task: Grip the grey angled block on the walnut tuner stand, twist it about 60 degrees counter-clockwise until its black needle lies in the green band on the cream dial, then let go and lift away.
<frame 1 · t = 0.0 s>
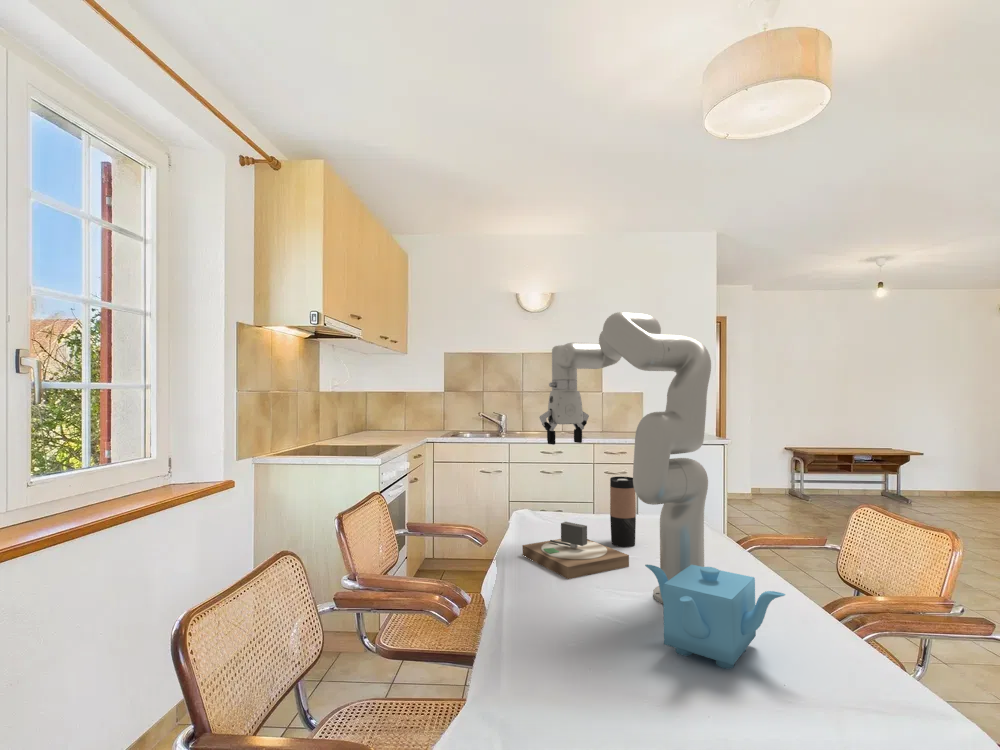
hand: (564, 443, 163), 31 cm above the table, tool pointing down, fingers open, 9 cm apart
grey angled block: (567, 534, 152), point 7 cm above the table, hinge at 0.0°
teakettle: (708, 653, 98), on the table
tuner stand: (574, 560, 150), on the table
travel mug: (623, 544, 166), on the table
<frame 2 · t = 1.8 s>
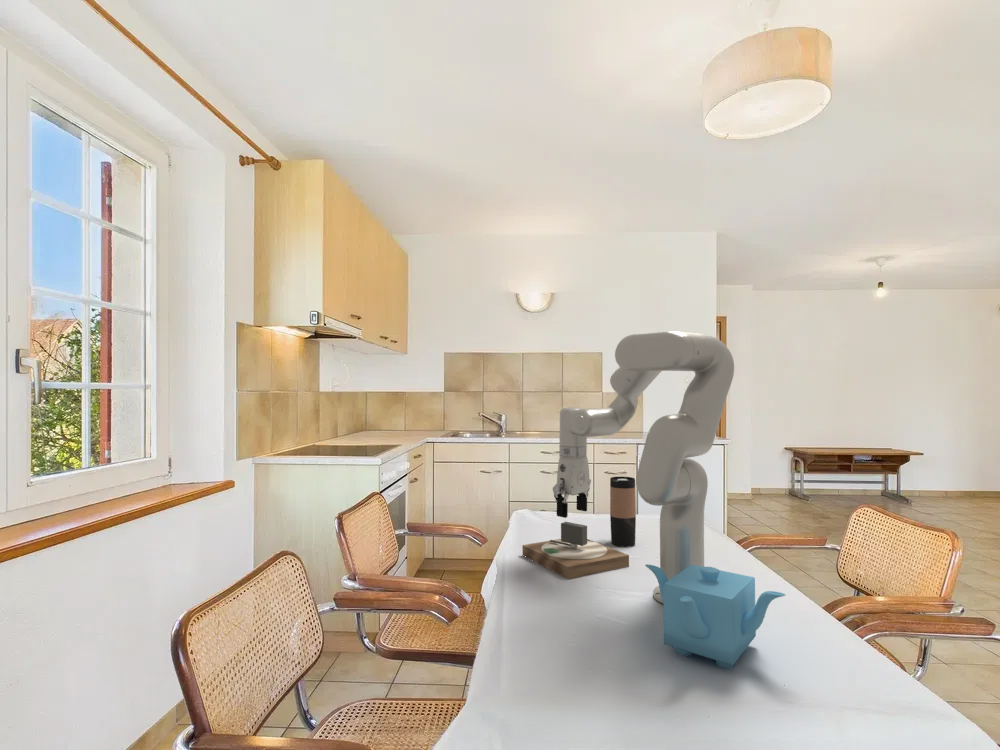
hand: (572, 513, 151), 13 cm above the table, tool pointing down, fingers open, 9 cm apart
nothing on the table moved.
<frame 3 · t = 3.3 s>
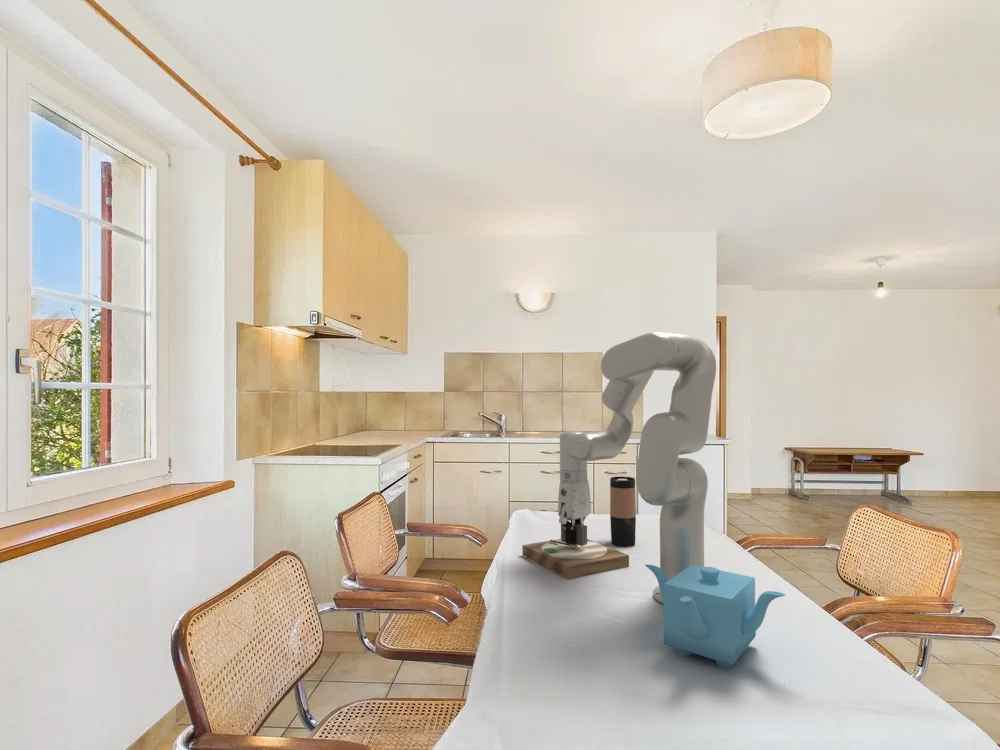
hand: (573, 542, 150), 5 cm above the table, tool pointing down, fingers closed on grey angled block, 2 cm apart
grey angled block: (567, 534, 152), point 7 cm above the table, hinge at 0.0°, touching gripper
everything else where it was.
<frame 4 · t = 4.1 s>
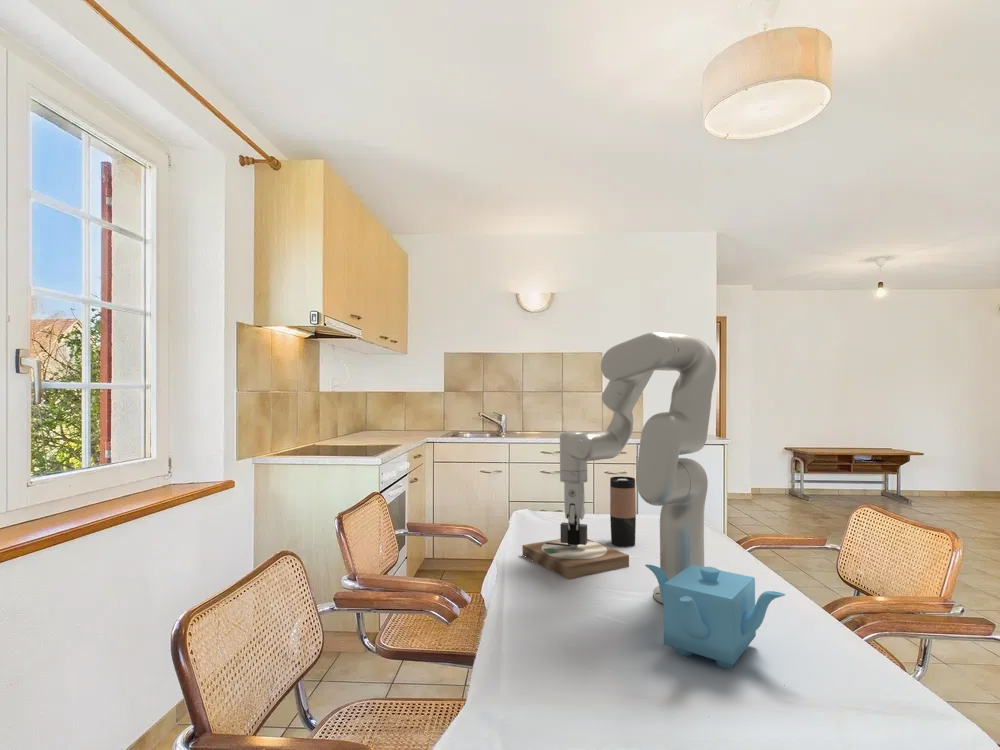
hand: (574, 541, 150), 5 cm above the table, tool pointing down, fingers closed on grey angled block, 3 cm apart
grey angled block: (565, 535, 151), point 7 cm above the table, hinge at 21.0°, touching gripper
everything else where it was.
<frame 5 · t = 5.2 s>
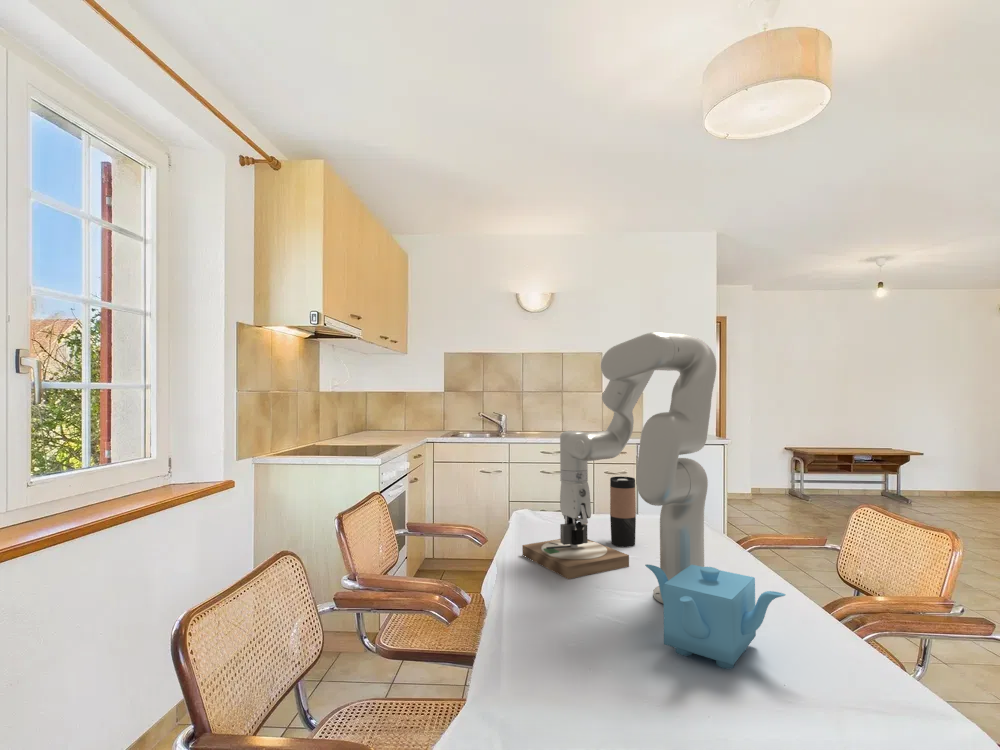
hand: (574, 541, 150), 5 cm above the table, tool pointing down, fingers closed on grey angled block, 2 cm apart
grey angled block: (566, 536, 150), point 7 cm above the table, hinge at 55.2°, touching gripper
everything else where it was.
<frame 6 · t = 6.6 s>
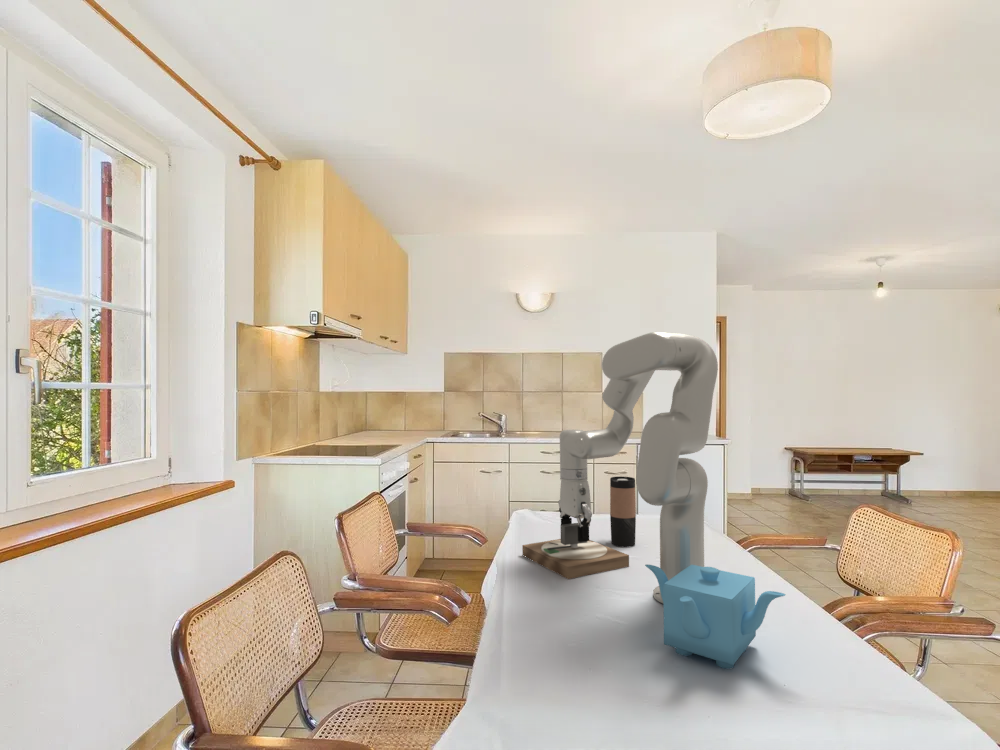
hand: (574, 536, 150), 7 cm above the table, tool pointing down, fingers open, 9 cm apart
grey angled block: (566, 536, 149), point 7 cm above the table, hinge at 61.8°
everything else where it was.
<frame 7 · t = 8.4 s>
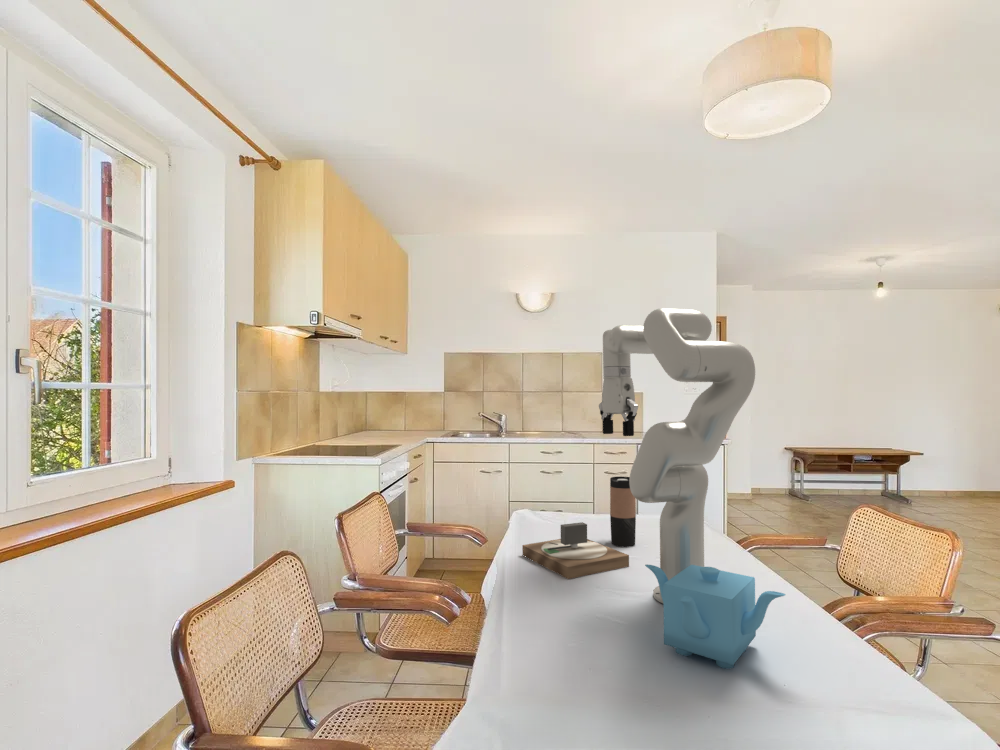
hand: (617, 434, 151), 35 cm above the table, tool pointing down, fingers open, 9 cm apart
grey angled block: (566, 536, 149), point 7 cm above the table, hinge at 63.2°
everything else where it was.
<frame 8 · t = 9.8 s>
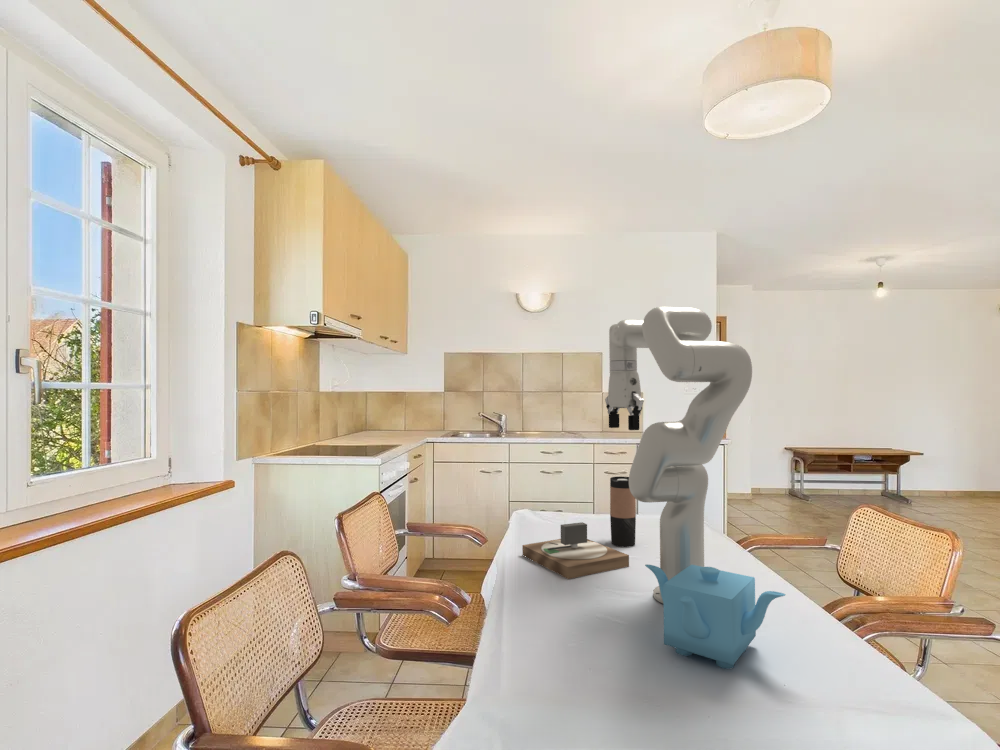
hand: (623, 428, 152), 36 cm above the table, tool pointing down, fingers open, 9 cm apart
nothing on the table moved.
at the end: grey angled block at +63° (first picture: +0°); the gripper is holding nothing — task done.
